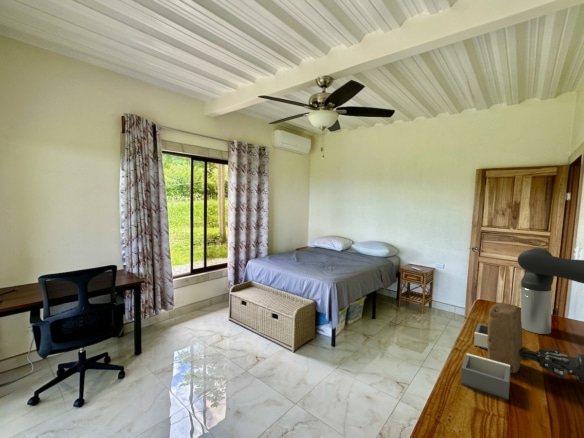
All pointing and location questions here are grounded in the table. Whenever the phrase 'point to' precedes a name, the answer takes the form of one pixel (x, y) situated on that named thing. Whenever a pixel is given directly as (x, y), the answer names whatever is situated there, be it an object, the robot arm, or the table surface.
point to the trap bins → (485, 369)
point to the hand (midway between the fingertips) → (520, 352)
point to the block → (505, 335)
